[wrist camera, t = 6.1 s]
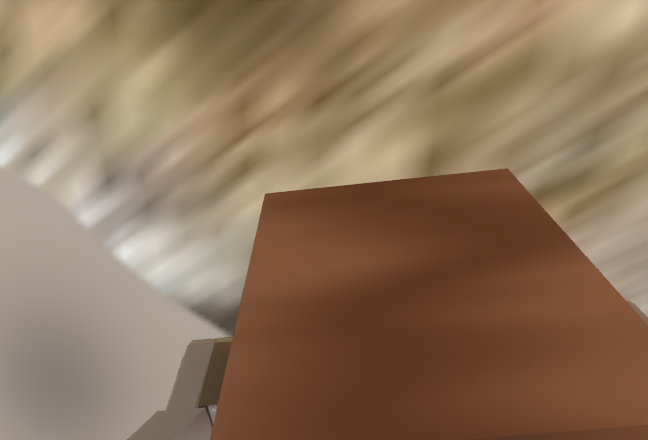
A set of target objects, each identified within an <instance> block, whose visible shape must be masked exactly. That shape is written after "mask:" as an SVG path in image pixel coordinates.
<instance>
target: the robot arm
mask: <svg viewBox="0 0 648 440" xmlns="http://www.w3.org/2000/svg"><path fill="white" fill-rule="evenodd" d="M627 303H628V304H629V305H630V306H631V307H632V308H633V309H634V310H635V311H636V313H637V314H638V315H639V316H640V317H641V318H642V319H643V320H644V322H645V323H646V324H647V325H648V318H647V317H646V315H645V314H644V313H643V312H642V311H641V310H640V309H639V308H638V307H637V306H636V305H635V304H634V303H632V302H629V301H627ZM232 339H233V337H226V338H218V339H205V340H193V341H191V343H190V344H189V345H188V346H187V349H186V352H185V355H184V358H183V361H182V364H181V366H180V369H179V372H178V375H177V378H176V381H175V384H174V387H173V390H172V393H171V396H170V399H169V402H168V405H167V408H166V410H165V411H157V412H156V413H155V414H154V415H153V416H152V417H151V418H150V419H149V420H147V421H146V422H145V423H144V424H143V425H142V426H141V427H140V428H139V429H138V430H137V431H136V432H135V433H133V434H132V435H131V436H130V437H129V438H128V439H127V440H210V437H211V432H212V428H213V423H214V419H215V414H216V410H217V405H218V401H219V397H220V392H221V388H222V383H223V379H224V374H225V370H226V366H227V361H228V357H229V352H230V348H231V343H232Z"/></svg>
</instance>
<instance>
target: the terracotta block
mask: <svg viewBox="0 0 648 440" xmlns="http://www.w3.org/2000/svg"><path fill="white" fill-rule="evenodd" d="M210 440H648V325H647V324H646V323H645V322H644V320H643V319H642V318H641V317H640V316H639V315H638V314H637V313H636V311H635V310H634V309H633V308H632V307H631V306H630V305H629V304H628V303H627V301H626V300H625V299H624V298H623V297H622V296H621V295H620V294H619V292H618V291H617V290H616V289H615V288H614V287H613V286H612V285H611V284H610V282H609V281H608V280H607V279H606V278H605V277H604V276H603V275H602V274H601V272H600V271H599V270H598V269H597V268H596V267H595V266H594V265H593V263H592V262H591V261H590V260H589V259H588V258H587V257H586V256H585V255H584V253H583V252H582V251H581V250H580V249H579V248H578V247H577V246H576V244H575V243H574V242H573V241H572V240H571V239H570V238H569V237H568V236H567V234H566V233H565V232H564V231H563V230H562V229H561V228H560V227H559V225H558V224H557V223H556V222H555V221H554V220H553V219H552V218H551V217H550V215H549V214H548V213H547V212H546V211H545V210H544V209H543V208H542V206H541V205H540V204H539V203H538V202H537V201H536V200H535V199H534V198H533V196H532V195H531V194H530V193H529V192H528V191H527V190H526V189H525V187H524V186H523V185H522V184H521V183H520V182H519V181H518V180H517V179H516V177H515V176H514V175H513V174H512V173H511V172H510V171H509V170H508V169H498V170H488V171H479V172H469V173H459V174H450V175H440V176H431V177H421V178H411V179H402V180H392V181H383V182H373V183H363V184H354V185H344V186H335V187H325V188H315V189H306V190H296V191H287V192H277V193H267V194H265V197H264V201H263V206H262V210H261V214H260V219H259V223H258V228H257V232H256V237H255V241H254V246H253V250H252V254H251V259H250V263H249V268H248V272H247V277H246V281H245V286H244V290H243V294H242V299H241V303H240V308H239V312H238V317H237V321H236V326H235V330H234V334H233V339H232V343H231V348H230V352H229V357H228V361H227V366H226V370H225V374H224V379H223V383H222V388H221V392H220V397H219V401H218V405H217V410H216V414H215V419H214V423H213V428H212V432H211V437H210Z"/></svg>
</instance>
